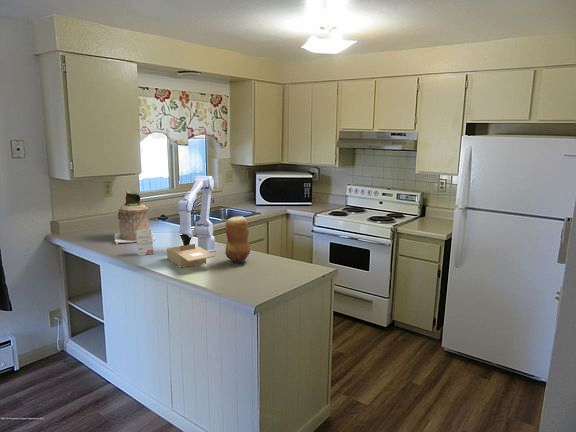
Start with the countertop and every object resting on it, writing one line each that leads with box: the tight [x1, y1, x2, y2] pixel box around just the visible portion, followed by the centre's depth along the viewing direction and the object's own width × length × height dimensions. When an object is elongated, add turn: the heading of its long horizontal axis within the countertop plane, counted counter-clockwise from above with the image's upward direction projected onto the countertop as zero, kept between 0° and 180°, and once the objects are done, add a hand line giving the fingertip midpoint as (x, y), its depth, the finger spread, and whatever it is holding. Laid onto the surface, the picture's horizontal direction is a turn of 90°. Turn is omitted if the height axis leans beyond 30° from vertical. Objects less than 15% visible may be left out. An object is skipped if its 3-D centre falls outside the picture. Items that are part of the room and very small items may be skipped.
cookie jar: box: [114, 190, 156, 245], centre depth 275 cm, size 25×25×32 cm
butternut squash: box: [225, 215, 251, 264], centre depth 227 cm, size 14×13×25 cm
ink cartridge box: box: [136, 228, 154, 256], centre depth 243 cm, size 9×5×15 cm, turn 105°
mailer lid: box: [173, 243, 216, 262], centre depth 221 cm, size 15×21×3 cm
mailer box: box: [166, 245, 207, 268], centre depth 231 cm, size 14×20×6 cm
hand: (186, 247), depth 229 cm, fingers closed
